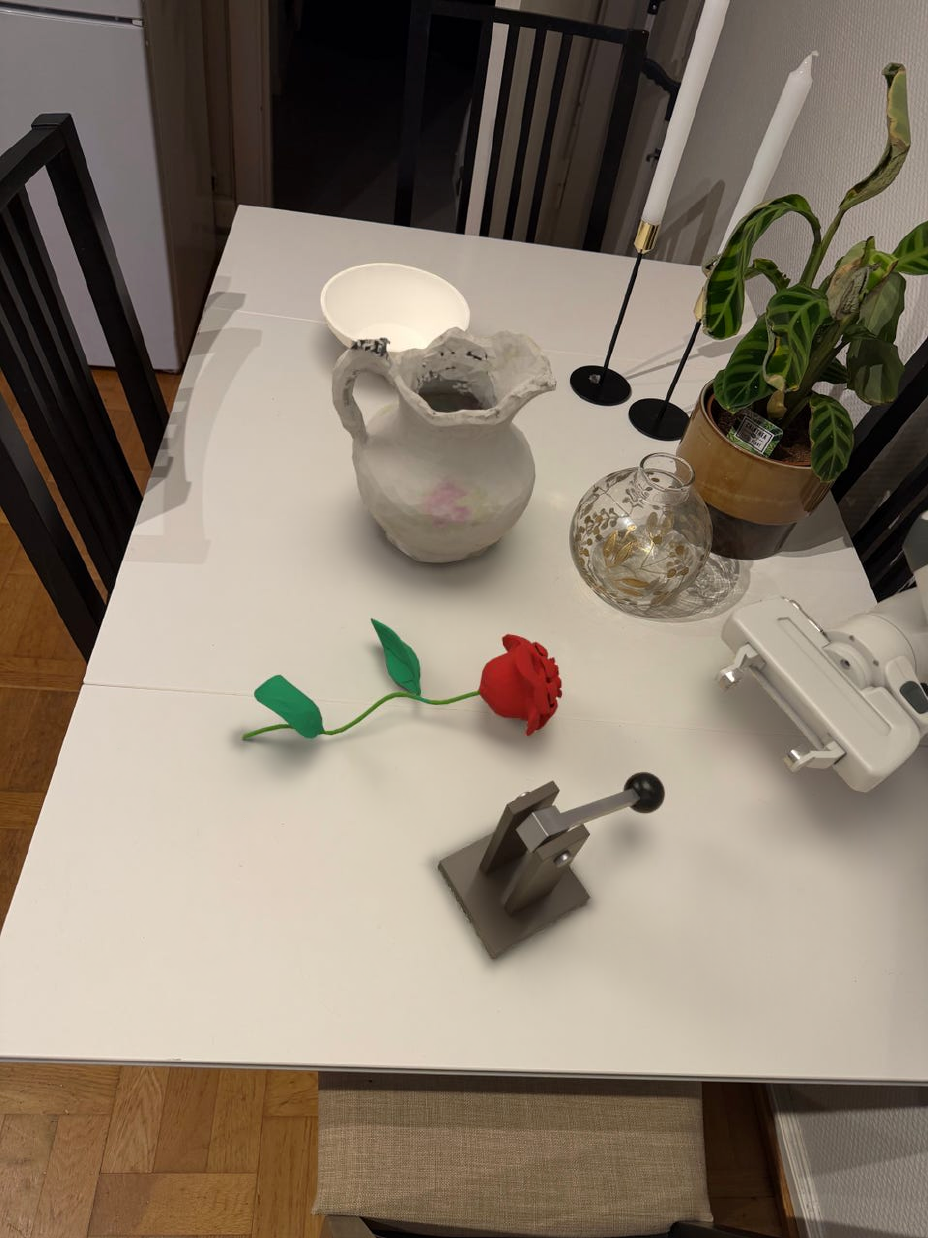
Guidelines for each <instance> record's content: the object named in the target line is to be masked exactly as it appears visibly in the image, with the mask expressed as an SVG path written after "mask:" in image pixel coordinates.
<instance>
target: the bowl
mask: <svg viewBox="0 0 928 1238" xmlns="http://www.w3.org/2000/svg"><path fill="white" fill-rule="evenodd" d="M319 303H320V307H321V313H322V315H323V318H324V321H325V322H326V324H327V326H328V328H329V329H330V331H331V332H332V333H333V334H334V336H335V337H336V338H337V339H338V340H339V341H340V343H342V344H343V345H344V346H345V347H347V349H349V348H350V347H351V344H352V341H354V342H356V341H359V340H358V339H361V340H364V339H380V337H383V338H387V339H388V340H389V341H390V345H389V343H388V344H387V349H386V350H387V352H388V354H389V355H390V357H391V359H393V358H394V357H395V356H396V355H397V354H398V353H399V352H402V351H406V350H409V349H414V348H417V349H425V348H427V347H428V345H429V344H430V343H431V342H432V341H433V340H434V339H435V338H437V337H438V336H440V335H441V334H443V333H444V332H445V331H446V330H448V329H450V328H453V327H458V328H460V329H462V330H463V331H465V332H466V333H467V331H468V328H469V326H470V322H471V309H470V307H469V304H468V302H467V300H466V299H465V298H464V296H463V295H462V293H461V292H460V291H459V290H458V289H457V288H456V287H455V286H454V285H452V284H451V283H450V282H448V281H447V280H445V279H444V278H442V277H440V276H438V275H436V274H434V273H432V272H429V271H427V270H424V269H421V268H418V267H414V266H410V265H406V264H399V263H391V262H390V263H389V262H388V263H385V262H379V263H378V262H375V263H366V264H360V265H355V266H352V267H349V268H346V269H343V270H342V271H340V272H338V273H336V274H335V275H333V276H332V277H330V279H329V280H328V281H327V282H326V283H324V286H323V288H322V290H321V292H320V300H319Z"/></svg>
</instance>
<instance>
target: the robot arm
mask: <svg viewBox="0 0 928 1238" xmlns="http://www.w3.org/2000/svg"><path fill="white" fill-rule="evenodd" d="M901 549H902V550H903V553H904V556H905V559H906V561H907V564H908V566H909V569H910V571H911V574H913V576H914V581H915V584H916V586H915V587H913V588H908V589H906V590H904V591H901V592H898V593H896V594H894V595H892V596H889V597H887V598H885V599H883V600H881V601H880V602H877V603H876V604H875V605H873V606H872V607H871V608H870V609H869V610H868V611H867V612H866V611H865V612H860V613H857V614H854V615H852V616H849V617H848V618H846V619H844V620H842V621H840V622H838V623H836V624H834V625H832V626H831V627H828V628H826V629H825V630H824V629H823V628H822V627H821V626H820V625H819V624H818V623H817V622H816V621H815V620H814V619H813V618H812V617H811V616H809V614H807V612H805V611H804V609H803V607H802V606H801V605H800V604H799V603H798V602H797V601H795V600H794V599H789V598H787V597H785V596H783V595H781V594H778V593H774V594H771V595H768V596H766V597H765V598H762V599H761V600H759V601H757V602H754V603H750V604H747V605H745V606H742V607H739V608H736V609H735V610H733V611H732V612H731V613H730V614H729V616H728V617H727V619H726V620H725V622H723V623H724V624H723V625H722V627H721V631H720V638H721V640H722V642H723V643H724V644H725V645H726V646H727V648H728V649H729V651H731V652H732V654H733V656H732V658H731V660H730V662H729V664H728V666H726V667H725V668H722V669H721V670H720V671H719V672H718V673H717V674H716V676H715V677H714V681H715V682H716V683H717V684H718V686H720V688H721V689H722V690H723V691H724V692H726V691H728V690H729V689H732V688H734V687H736V686H737V685H738V684H739V683H740V680H742V679H743V677H745V676H744V674H743V672H741V671H743V670H748V671H749V673H750V674H751V675H752V676H753V677H754V678H755V680H756V681H757V682H758V683H759V684H760V685H761V686H762V688H763V689H764V690H765V692H767V693H768V694H769V696H770V697H771V698H772V699H773V700H774V701H775V703H776V704H777V705H778V706H779V707H780V708H781V710H782V711H783V712H784V714H786V715H787V717H789V718H790V720H791V721H792V723H794V724H795V726H796V727H797V728H798V729H799V730H800V731H801V733H802V734H803V735H804V736H805V737H806V738H807V740H809V742H810V743H811V744H812V745H813V746H814V748H815V749H816V750H809V749H808V748H807V747H806V746H805V744H803V743H802V744H800V745H798V746H797V747H796V748H793V749H792V750H790V751H788V753H786V755H785V756H784V757H783V758H782V762H784V764H785V765H786V766H787V768H788V769H789V770H790V771H791V772H792V773H796V772H798V771H799V770H801V769H802V768H804V767H806V768H812V769H823V770H826V769H827V768H830V767H832V768H833V769H834V771H835V772H836V773H837V774H838V775H839V776H840V778H842V780H843V781H844V782H845V783H846V784H847V786H848V787H849V788H850V789H852V790H853V791H856V792H862V793H869V792H870V791H871V790H872V789H874V788H876V786H877V785H879V784H880V783H882V782H883V781H884V780H886V779H887V778H888V777H889V776H890V775H891V774H892V773H894V772H895V771H896V770H897V769H898V768H900V766H902V765H903V764H904V763H905V762H906V761H907V760H908V759H909V758H910V757H911V755H912V754H913V753H914V752H915V751H916V750H917V748H918V746H919V745H920V741H921V739H922V738H923V737H925V736H926V734H928V695H927V693H926V692H925V691H924V688H923V686H922V684H925V685H926V687H927V688H928V509H927V510H924V511H923V512H922V513H921V512H920V514H919V515H918V516H917V518H916V519H915V521H914V522H913V524H912V526H911V527H910V529H909V530H908V532H907V535H906V536H905V538H904V541H903V543H902V545H901Z"/></svg>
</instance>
